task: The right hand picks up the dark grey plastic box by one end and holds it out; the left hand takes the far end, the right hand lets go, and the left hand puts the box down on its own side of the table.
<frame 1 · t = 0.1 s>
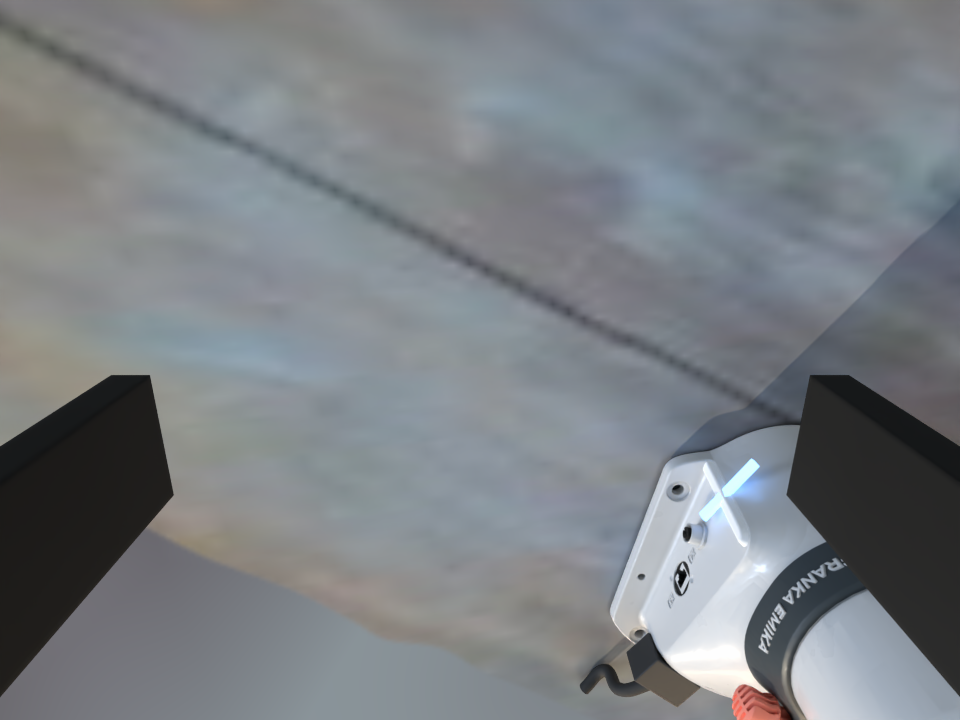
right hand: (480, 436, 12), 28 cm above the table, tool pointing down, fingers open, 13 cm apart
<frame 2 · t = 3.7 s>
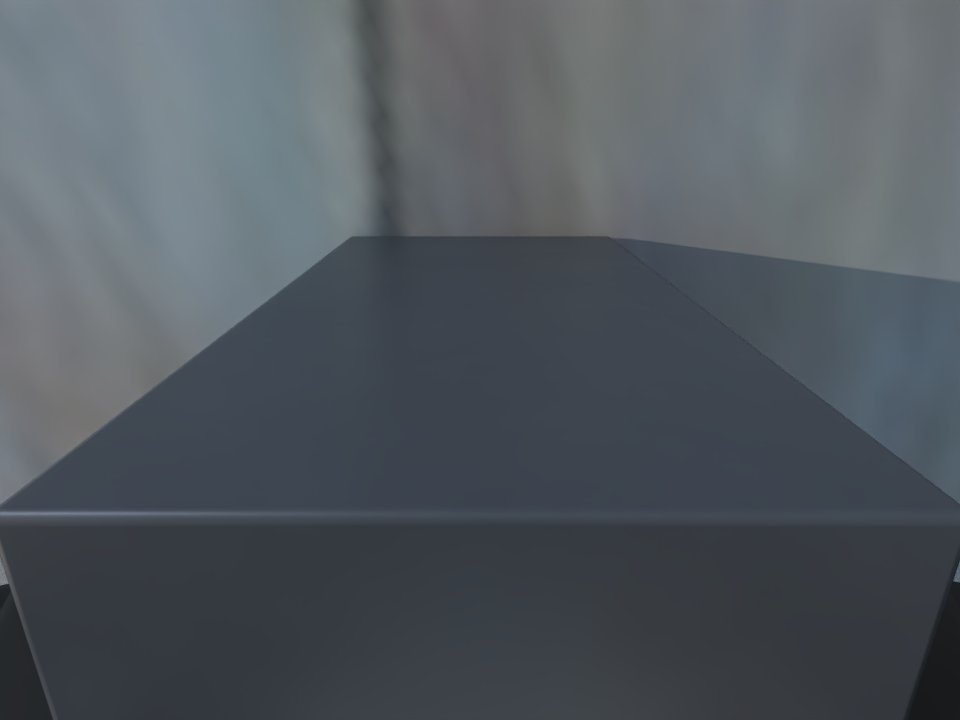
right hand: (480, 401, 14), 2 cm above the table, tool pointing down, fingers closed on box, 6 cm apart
box: (480, 624, 19), on the table, touching right hand
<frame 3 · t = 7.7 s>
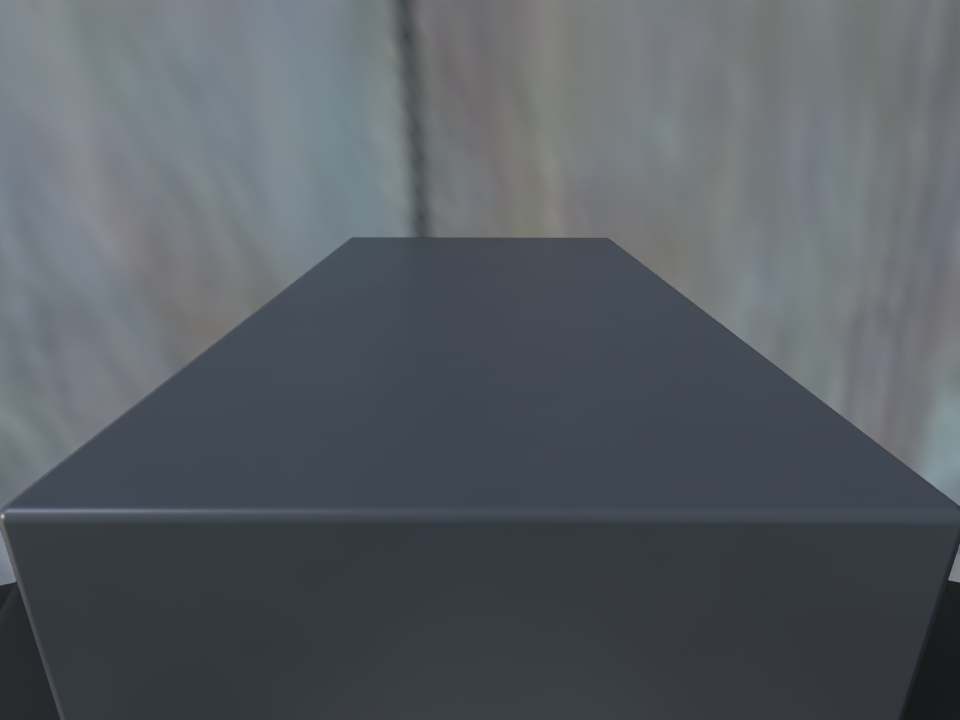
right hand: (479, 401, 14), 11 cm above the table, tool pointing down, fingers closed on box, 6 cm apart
box: (479, 624, 19), point 8 cm above the table, touching right hand, left hand
when the right hand's fingers open (11 cm above the table, at t = 8.7 s): box stays where it is, held by the left hand.
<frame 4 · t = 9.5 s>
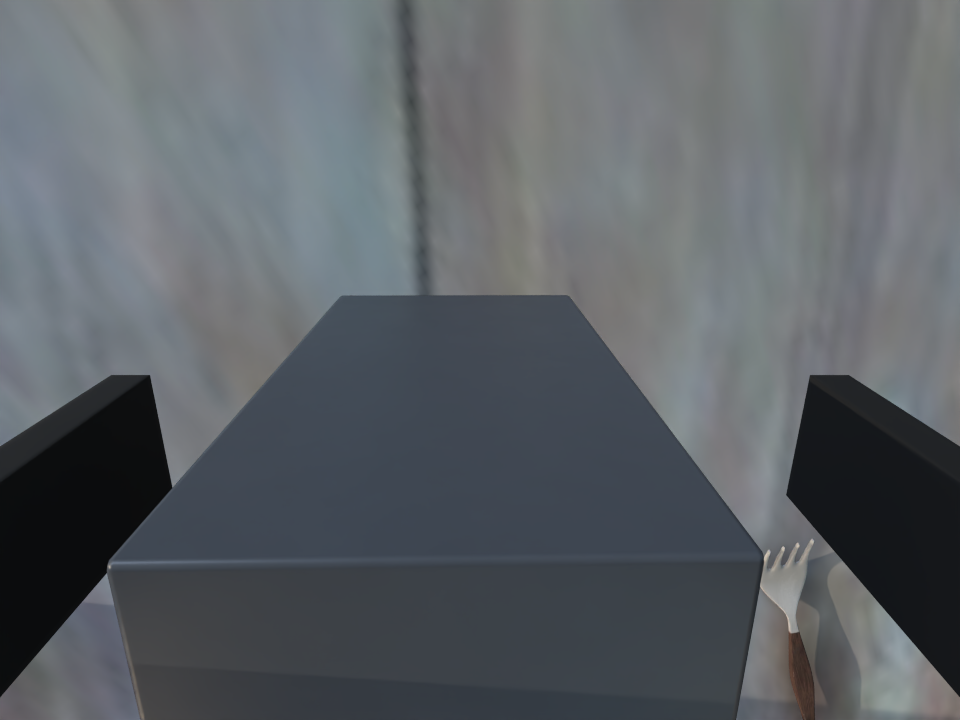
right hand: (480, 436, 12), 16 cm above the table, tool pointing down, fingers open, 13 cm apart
fork: (790, 637, 34), on the table
box: (458, 641, 21), point 11 cm above the table, touching left hand
when the left hand's fingers open (8 cm above the table, at t = 14.2 s): box stays where it is, on the table.
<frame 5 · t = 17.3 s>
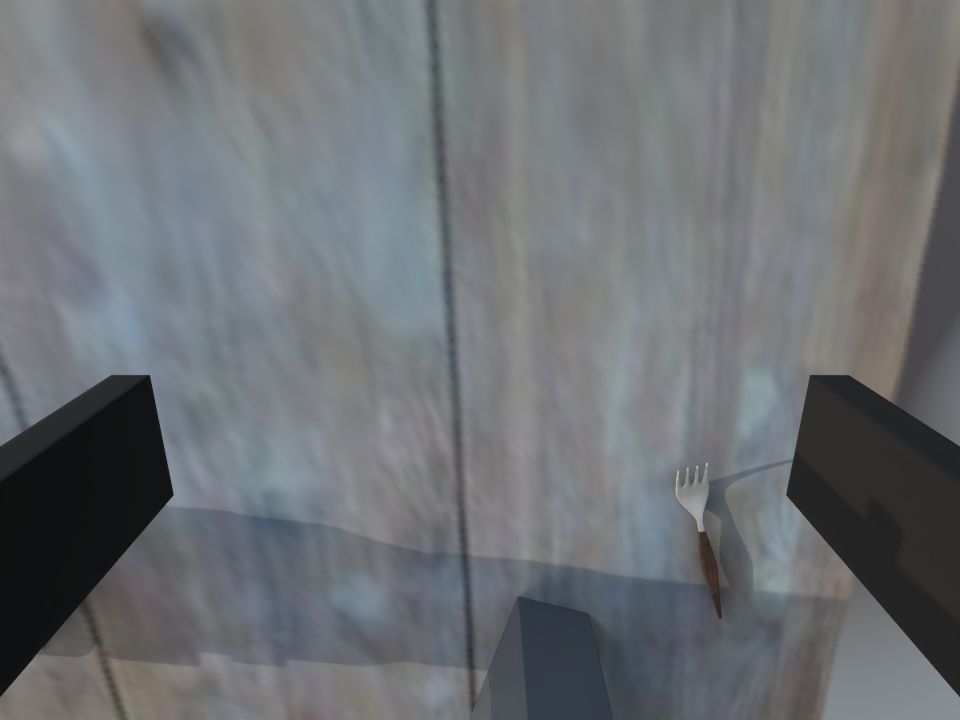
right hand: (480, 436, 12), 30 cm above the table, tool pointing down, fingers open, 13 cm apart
fork: (701, 536, 49), on the table
box: (510, 706, 55), on the table
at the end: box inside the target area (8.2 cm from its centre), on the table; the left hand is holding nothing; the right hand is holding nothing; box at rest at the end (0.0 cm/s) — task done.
